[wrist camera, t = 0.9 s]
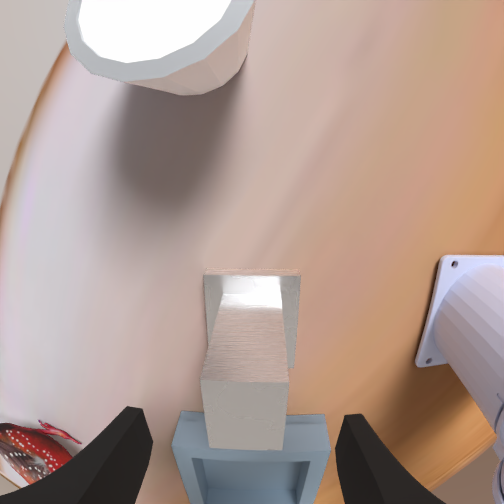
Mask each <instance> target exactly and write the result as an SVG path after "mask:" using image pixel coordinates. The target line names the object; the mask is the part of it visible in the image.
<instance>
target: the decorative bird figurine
mask: <svg viewBox="0 0 504 504" xmlns="http://www.w3.org/2000/svg"><path fill="white" fill-rule="evenodd" d="M38 421H39V423H40V425H41V426H42V427H44V428H46V430H44V429H32V428H26V427H21V426H17V425H14V424H11V423H0V454H1V455H2V456H3V458H4V459H5V460H6V461H7V462H8V463H9V465H10V466H11V467H12V468H13V469H14V470H15V471H16V472H17V473H19V474H20V475H21V476H22V477H23V478H24V479H25V480H26V481H27V482H28V483H29V484H32V483H34V482H36V481H38V480H40V479H42V478H44V477H45V476H47V475H49V474H50V473H52V472H54V471H55V470H57V469H58V468H60V467H61V466H63V465H64V464H65V463H67V462H68V461H69V460H71V459H72V458H73V457H72V456H71V455H70V454H69V452H68V451H67V450H66V449H65V448H64V447H63V446H62V445H61V444H59V443H58V442H57V441H56V440H54V439H53V438H51V437H50V436H48V435H46V434H50V435H59V436H61V437H62V438H64V439H71V440H73V441H74V442H76V443H78V444H81V443H79V442H78V441H76V440H75V439H73V438H72V437H70V436H69V435H68V434H67V433H66V432H65V431H62V430H59V429H56V428H54V427H52V426H51V425H49V424H47V423H44V424H42V423H41V421H40V420H38ZM45 425H47V426H45ZM47 429H48V430H47Z"/></svg>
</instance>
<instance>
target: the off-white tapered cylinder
mask: <svg viewBox="0 0 504 504" xmlns="http://www.w3.org/2000/svg"><path fill="white" fill-rule="evenodd" d="M255 2H256V0H69V3H68V7H67V12H66V17H65V23H64V30H65V34H66V38H67V42H68V46H69V50H70V53H71V55H72V56H73V57H74V58H75V59H76V60H77V61H78V62H79V63H81V64H82V65H83V66H84V67H85V68H86V69H87V70H88V71H89V72H90V73H91V74H94V75H98V76H102V77H106V78H110V79H113V80H117V81H120V82H124V83H129V84H134V85H139V86H143V87H148V88H152V89H157V90H161V91H165V92H169V93H173V94H177V95H181V96H182V95H201V94H205V93H207V92H209V91H212V90H214V89H217V88H219V87H222V86H223V85H224V84H225V83H226V82H228V81H229V80H230V79H231V78H232V77H233V76H234V75H235V74H236V73H238V72H239V70H240V68H241V66H242V64H243V62H244V60H245V58H246V56H247V53H248V46H249V40H250V33H251V27H252V21H253V14H254V8H255Z"/></svg>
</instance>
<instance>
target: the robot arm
mask: <svg viewBox="0 0 504 504" xmlns="http://www.w3.org/2000/svg"><path fill="white" fill-rule="evenodd" d="M453 261H455V263H454V265H453V266H451V264H452V262H453ZM429 358H430V359H429ZM428 359H429V360H428ZM427 360H428V361H427ZM447 363H449V365H450V366H451V368H452V369H453V370H454V372H455V373H456V375H457V376H458V377H459V379H460V380H461V382H462V383H463V385H464V386H465V388H466V389H467V390H468V392H469V393H470V395H471V396H472V398H473V399H474V401H475V402H476V404H477V405H478V407H479V408H480V410H481V411H482V413H483V415H484V416H485V418H486V419H487V421H488V422H489V424H490V426H491V427H492V429H493V430H494V432H495V433H496V434H497V440H496V442H495V444H494V446H493V449H494V451H495V452H496V454H497V456H498V458H499V460H500V461H499V463H498V465H497V467H496V469H495V472H494V476H493V481H492V491H493V498H494V501H495V504H504V255H444V256H443V257H442V258H441V259H440V262H439V266H438V271H437V276H436V281H435V286H434V291H433V295H432V300H431V304H430V308H429V312H428V316H427V320H426V324H425V328H424V331H423V335H422V339H421V342H420V345H419V349H418V352H417V355H416V359H415V364H416V365H417V367H428V366H435V365H441V364H447ZM152 445H153V440H152V437H151V434H150V431H149V428H148V425H147V422H146V419H145V416H144V413H143V409H141V408H135V407H129V406H127V407H126V408H125V409H124V410H123V411H122V412H121V413H120V414H119V415H118V416H117V417H116V418H115V419H114V420H113V421H112V422H111V423H110V424H109V425H108V426H107V427H106V428H105V429H104V430H103V431H102V432H101V433H100V434H99V435H98V436H97V437H96V438H95V439H94V440H93V441H92V442H91V443H90V444H88V445H87V446H86V447H85V448H84V449H83V450H81V451H80V452H79V453H78V454H77V455H76V456H74V457H73V458H72V459H71V460H69V461H68V462H67V463H65V464H64V465H63V466H61V467H60V468H58V469H57V470H55V471H54V472H52V473H50V474H49V475H47V476H45V477H44V478H42V479H40V480H38V481H36V482H34V483H32V484H30V485H28V486H26V487H23V488H21V489H19V490H17V491H14V492H11V493H8V494H5V495H1V496H0V504H135V502H136V499H137V496H138V493H139V490H140V487H141V485H142V482H143V479H144V476H145V473H146V470H147V468H148V465H149V460H150V456H151V451H152ZM335 452H336V463H337V471H338V476H339V480H340V485H341V489H342V493H343V497H344V502H345V504H446V503H444V502H443V501H441V500H440V499H438V498H437V497H436V496H434V495H433V494H432V493H431V492H430V491H428V490H427V489H426V488H425V487H424V486H422V485H421V484H420V483H419V482H418V481H417V480H416V479H415V478H414V477H413V476H412V475H411V474H410V473H409V472H408V471H407V470H406V469H405V468H404V467H403V466H402V465H401V464H400V463H399V462H398V461H397V459H396V458H395V457H394V456H393V455H392V453H391V452H390V451H389V450H388V449H387V447H386V446H385V445H384V444H383V442H382V441H381V440H380V438H379V437H378V436H377V434H376V433H375V432H374V430H373V429H372V428H371V426H370V425H369V423H368V422H367V420H366V419H365V417H364V416H363V415H362V414H352V415H345V416H344V420H343V423H342V427H341V430H340V434H339V437H338V440H337V444H336V447H335Z"/></svg>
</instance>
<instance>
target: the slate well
mask: <svg viewBox="0 0 504 504" xmlns="http://www.w3.org/2000/svg"><path fill="white" fill-rule="evenodd" d="M171 446H172V450H173V453H174V456H175V459H176V463H177V466H178V469H179V472H180V475H181V478H182V481H183V484H184V487H185V489H186V492H187V495H188V498H189V501H190V503H191V504H313V503H314V500H315V497H316V494H317V491H318V489H319V486H320V483H321V480H322V477H323V474H324V471H325V468H326V464H327V461H328V458H329V455H330V452H331V448H330V442H329V436H328V431H327V426H326V420H325V415H324V414H315V415H286V421H285V430H284V439H283V448H282V450H238V449H220V448H210V447H209V441H208V435H207V428H206V421H205V415H204V413H201V412H190V411H181V414H180V417H179V421H178V424H177V427H176V431H175V434H174V438H173V441H172V445H171Z"/></svg>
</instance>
